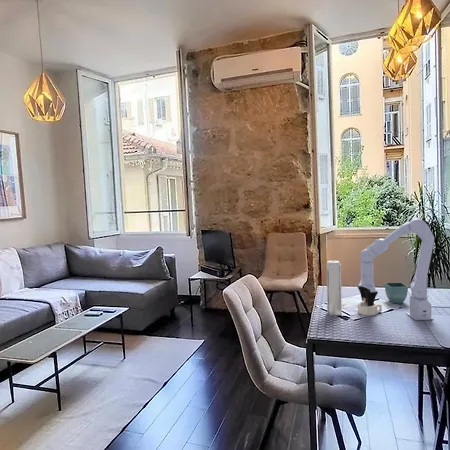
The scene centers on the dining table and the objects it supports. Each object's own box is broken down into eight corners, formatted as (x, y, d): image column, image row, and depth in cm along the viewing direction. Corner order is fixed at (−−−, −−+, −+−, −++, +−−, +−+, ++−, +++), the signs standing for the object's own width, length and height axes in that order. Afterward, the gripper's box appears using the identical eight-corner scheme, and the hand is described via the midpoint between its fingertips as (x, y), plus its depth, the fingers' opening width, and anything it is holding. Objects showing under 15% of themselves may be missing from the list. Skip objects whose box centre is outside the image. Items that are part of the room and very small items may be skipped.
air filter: (342, 315, 183) (341, 262, 181) (327, 315, 184) (326, 262, 182) (341, 311, 189) (340, 259, 187) (327, 311, 190) (326, 260, 188)
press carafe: (384, 314, 182) (384, 306, 182) (362, 315, 182) (362, 307, 182) (377, 309, 190) (377, 301, 190) (356, 310, 190) (356, 302, 190)
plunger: (374, 312, 183) (374, 299, 183) (364, 312, 183) (364, 299, 183) (370, 309, 188) (370, 296, 188) (360, 309, 188) (360, 296, 188)
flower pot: (408, 304, 196) (408, 286, 196) (390, 304, 197) (390, 287, 196) (401, 299, 205) (401, 282, 204) (384, 299, 205) (384, 282, 205)
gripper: (353, 272, 192) (353, 299, 193) (364, 278, 177) (364, 308, 178) (368, 271, 192) (368, 298, 193) (379, 278, 177) (380, 307, 178)
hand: (367, 303), depth 186 cm, fingers open, 7 cm apart
